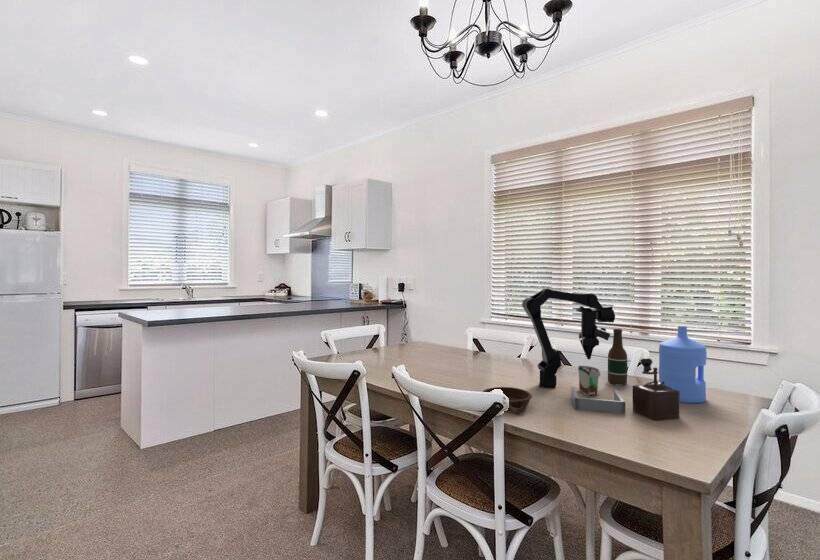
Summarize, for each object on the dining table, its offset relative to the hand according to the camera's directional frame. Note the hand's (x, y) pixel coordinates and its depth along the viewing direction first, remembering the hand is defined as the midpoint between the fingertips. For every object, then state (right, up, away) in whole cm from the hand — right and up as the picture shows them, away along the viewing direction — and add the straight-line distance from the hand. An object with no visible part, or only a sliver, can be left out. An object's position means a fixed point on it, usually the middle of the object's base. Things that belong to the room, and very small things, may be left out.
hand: (588, 358), depth 181 cm
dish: (-42, -13, -26) cm, 51 cm away
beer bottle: (+15, -12, +5) cm, 20 cm away
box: (-8, -13, -25) cm, 29 cm away
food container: (-3, -13, -11) cm, 17 cm away
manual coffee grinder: (+7, -13, -34) cm, 37 cm away
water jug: (+29, -13, -17) cm, 36 cm away
